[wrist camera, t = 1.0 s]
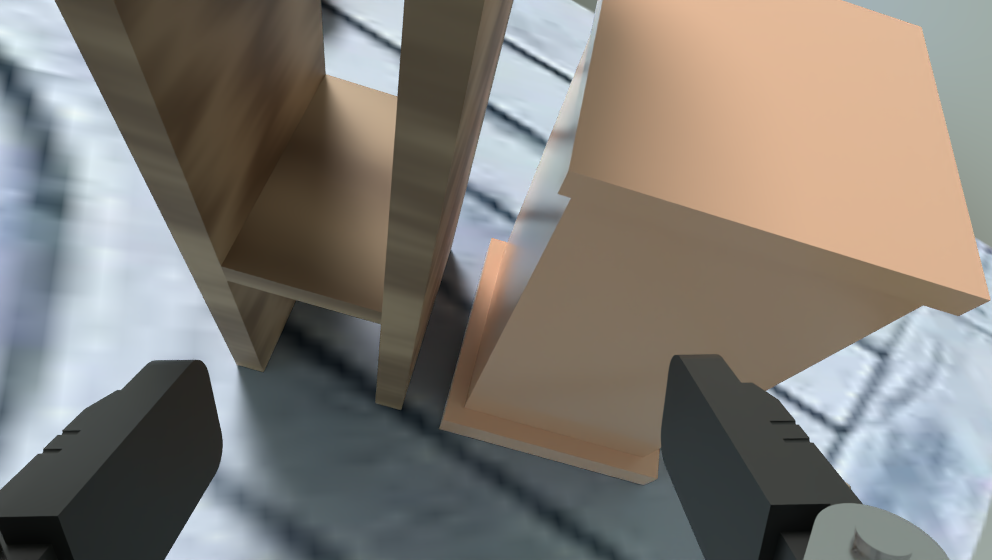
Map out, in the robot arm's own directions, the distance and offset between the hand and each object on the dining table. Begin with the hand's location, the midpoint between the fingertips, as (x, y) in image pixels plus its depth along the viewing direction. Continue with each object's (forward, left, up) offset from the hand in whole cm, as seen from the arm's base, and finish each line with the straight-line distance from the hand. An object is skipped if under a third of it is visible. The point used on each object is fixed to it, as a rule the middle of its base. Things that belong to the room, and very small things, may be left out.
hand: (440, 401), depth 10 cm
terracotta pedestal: (-3, +15, -25) cm, 30 cm away
